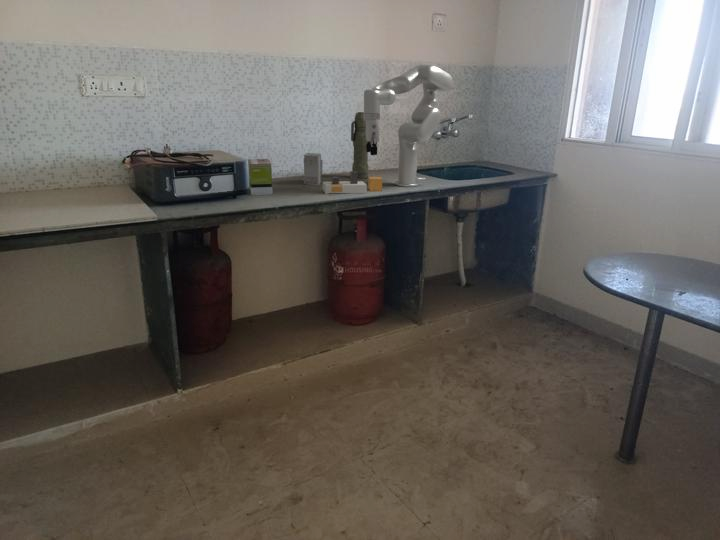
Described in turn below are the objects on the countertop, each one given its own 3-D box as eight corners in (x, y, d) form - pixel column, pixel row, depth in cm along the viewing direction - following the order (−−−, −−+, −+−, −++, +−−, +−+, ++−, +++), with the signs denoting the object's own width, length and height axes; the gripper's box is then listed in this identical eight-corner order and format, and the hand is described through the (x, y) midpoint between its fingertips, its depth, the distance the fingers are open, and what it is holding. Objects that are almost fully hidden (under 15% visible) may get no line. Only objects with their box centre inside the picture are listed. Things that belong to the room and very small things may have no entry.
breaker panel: (362, 189, 262) (362, 180, 261) (366, 193, 253) (367, 184, 251) (322, 189, 258) (322, 181, 257) (325, 194, 249) (325, 184, 248)
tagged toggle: (337, 190, 257) (337, 176, 254) (338, 192, 254) (338, 177, 251) (331, 191, 256) (331, 176, 254) (332, 192, 253) (332, 177, 251)
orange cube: (379, 188, 265) (379, 176, 263) (381, 190, 260) (382, 178, 258) (367, 188, 264) (368, 176, 262) (370, 191, 259) (370, 178, 257)
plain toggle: (355, 185, 258) (356, 171, 255) (357, 186, 255) (357, 172, 252) (349, 185, 257) (350, 171, 255) (351, 186, 254) (351, 172, 252)
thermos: (373, 177, 295) (375, 112, 283) (356, 179, 288) (357, 113, 276) (364, 175, 302) (365, 111, 290) (347, 176, 295) (348, 112, 283)
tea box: (249, 189, 255) (247, 158, 250) (270, 188, 258) (269, 158, 253) (251, 195, 242) (249, 163, 237) (273, 195, 244) (272, 162, 239)
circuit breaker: (322, 180, 283) (322, 152, 278) (318, 185, 269) (318, 155, 264) (309, 179, 283) (308, 151, 278) (303, 184, 270) (303, 155, 265)
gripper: (383, 118, 242) (383, 155, 248) (375, 115, 258) (375, 150, 264) (367, 118, 240) (367, 156, 247) (360, 115, 256) (360, 151, 263)
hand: (371, 153), depth 255 cm, fingers open, 9 cm apart
